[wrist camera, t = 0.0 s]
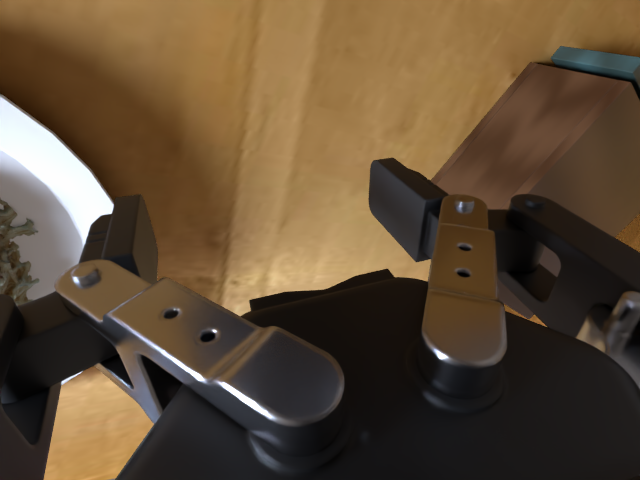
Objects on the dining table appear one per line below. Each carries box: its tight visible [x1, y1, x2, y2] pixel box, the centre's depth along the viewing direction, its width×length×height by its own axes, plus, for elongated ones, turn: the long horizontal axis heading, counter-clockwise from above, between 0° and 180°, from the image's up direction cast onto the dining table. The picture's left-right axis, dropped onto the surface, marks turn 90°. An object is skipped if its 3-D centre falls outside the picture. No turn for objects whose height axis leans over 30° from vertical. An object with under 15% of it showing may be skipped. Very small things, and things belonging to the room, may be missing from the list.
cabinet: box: [431, 62, 640, 319], centre depth 36 cm, size 18×14×9 cm
